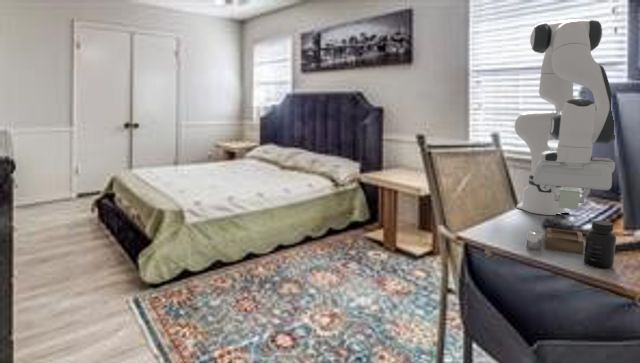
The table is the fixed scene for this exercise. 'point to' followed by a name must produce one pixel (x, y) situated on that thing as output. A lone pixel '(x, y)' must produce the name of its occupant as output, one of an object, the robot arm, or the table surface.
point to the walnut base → (564, 240)
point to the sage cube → (569, 198)
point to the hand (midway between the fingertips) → (568, 201)
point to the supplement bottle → (600, 245)
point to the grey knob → (534, 240)
